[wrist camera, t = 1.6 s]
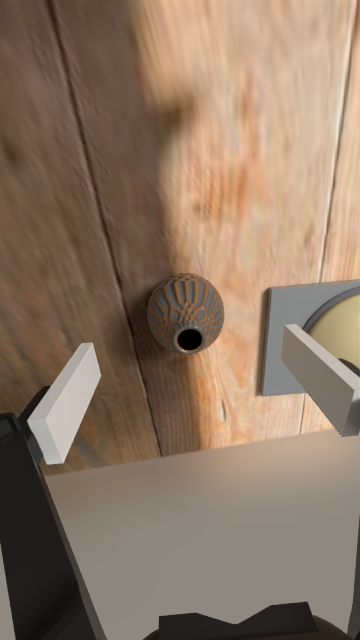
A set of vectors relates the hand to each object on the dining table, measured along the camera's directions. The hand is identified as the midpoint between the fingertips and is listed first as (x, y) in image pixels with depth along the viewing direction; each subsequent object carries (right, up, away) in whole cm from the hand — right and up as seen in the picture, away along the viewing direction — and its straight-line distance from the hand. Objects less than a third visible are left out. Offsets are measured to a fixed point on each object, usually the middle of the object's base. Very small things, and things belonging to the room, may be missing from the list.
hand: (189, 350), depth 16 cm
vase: (0, +4, +9) cm, 10 cm away
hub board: (+19, 0, +11) cm, 22 cm away
